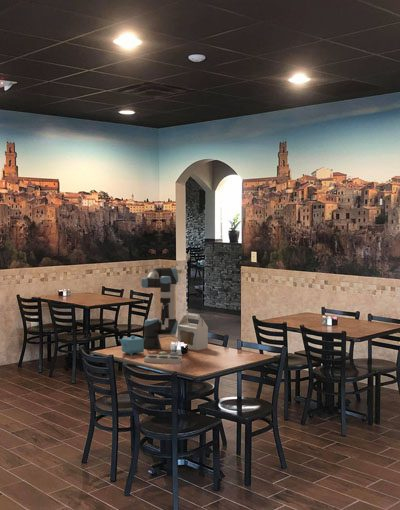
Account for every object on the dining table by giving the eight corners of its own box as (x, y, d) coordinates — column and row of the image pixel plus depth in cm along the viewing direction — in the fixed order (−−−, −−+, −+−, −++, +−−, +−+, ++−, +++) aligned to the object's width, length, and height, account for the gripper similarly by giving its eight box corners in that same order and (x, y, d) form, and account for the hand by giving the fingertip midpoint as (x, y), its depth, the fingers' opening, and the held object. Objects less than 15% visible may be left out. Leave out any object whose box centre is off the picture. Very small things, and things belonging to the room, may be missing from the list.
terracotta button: (149, 352, 470) (149, 350, 470) (157, 353, 469) (157, 351, 469) (147, 354, 464) (147, 352, 464) (155, 354, 463) (155, 352, 463)
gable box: (177, 346, 523) (177, 312, 522) (188, 344, 533) (189, 311, 531) (196, 350, 508) (197, 315, 507) (208, 348, 517) (208, 313, 516)
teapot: (140, 351, 501) (140, 333, 500) (146, 353, 492) (147, 336, 491) (114, 354, 489) (114, 336, 488) (120, 356, 480) (121, 338, 479)
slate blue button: (170, 353, 467) (170, 351, 467) (178, 354, 466) (178, 352, 466) (168, 355, 461) (168, 353, 461) (177, 356, 460) (177, 353, 460)
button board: (148, 358, 473) (148, 354, 473) (181, 360, 469) (181, 356, 469) (144, 362, 462) (144, 357, 461) (178, 363, 457) (178, 359, 457)
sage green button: (160, 353, 469) (160, 351, 469) (168, 353, 468) (168, 351, 468) (158, 355, 463) (158, 352, 463) (166, 355, 462) (166, 353, 462)
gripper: (163, 295, 479) (163, 325, 480) (156, 298, 458) (156, 330, 459) (173, 296, 478) (173, 326, 479) (167, 299, 457) (166, 330, 458)
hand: (164, 328), depth 469 cm, fingers open, 9 cm apart
